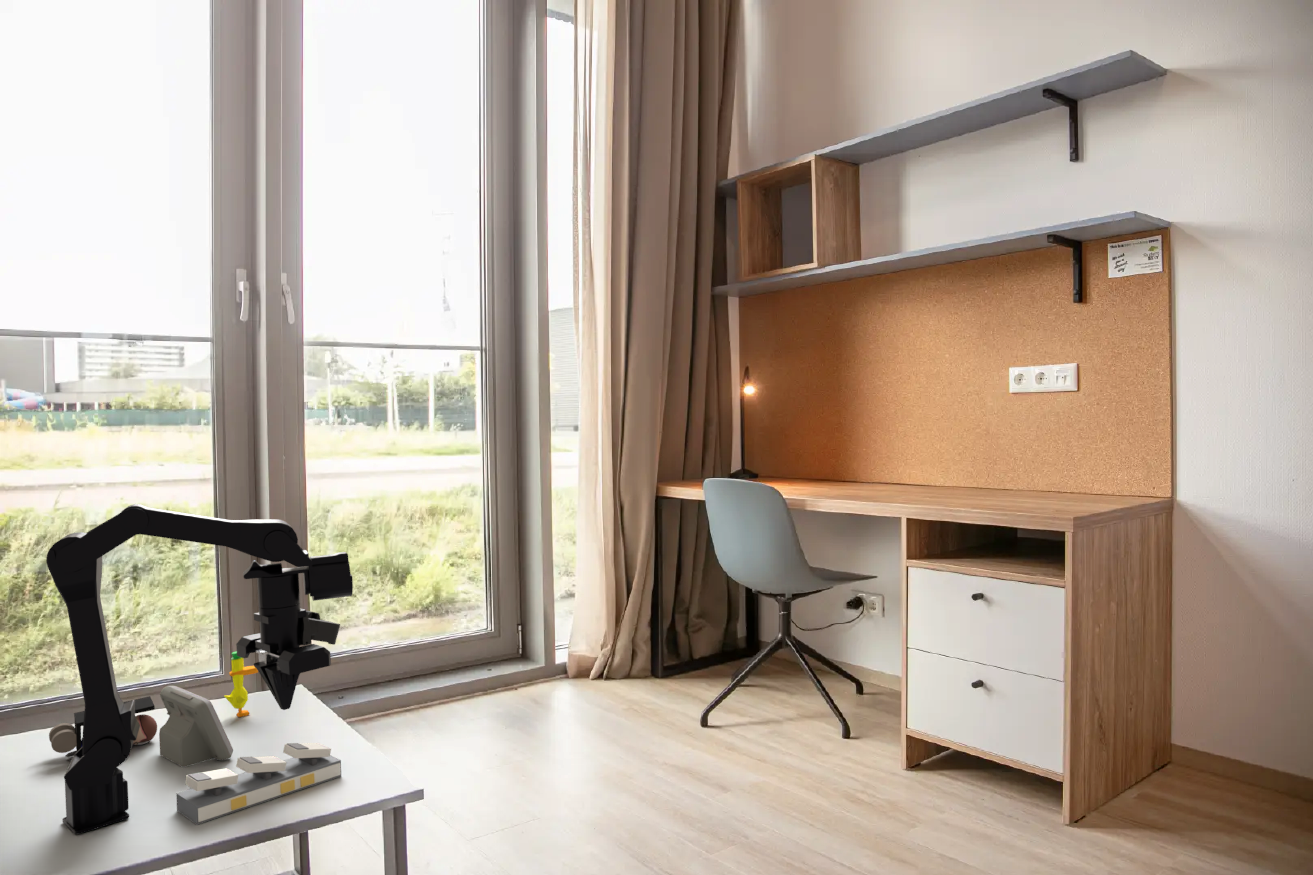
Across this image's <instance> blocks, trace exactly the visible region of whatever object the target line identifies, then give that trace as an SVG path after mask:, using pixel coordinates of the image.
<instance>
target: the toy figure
mask: <svg viewBox="0 0 1313 875" xmlns="http://www.w3.org/2000/svg"><path fill="white" fill-rule="evenodd" d="M231 656H232V657H231V658H230V660H231V671H229V672H228V674H229V676H230V677H232V682H233V689H232V691H231V692H230V694H229V695H223V697H224V698H225V699H226V700H227V701H228V703H229V704H230V705H231V706H232V707H233V708H234V709H235V710H238V712H237V713H236V716H237V718H241V717H246V716H250V712H249V710H247V709H243V708H244V707H245V705H246V704H247V702H248V700H249V697H248V696H249V693H248V692H249V691H248V690H247V689H246V688H245V686H244V679H245V678H244V677H245V676H249V675H253V674H258V673H259V672H258V670H257V668H256V667H254V665H247V666H245V662H244V659H245V658H242V657H239V656H237V650H236V651H233V652H231Z"/></svg>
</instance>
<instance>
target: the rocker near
mask: <svg viewBox="0 0 1313 875" xmlns="http://www.w3.org/2000/svg"><path fill="white" fill-rule="evenodd" d="M237 774H238V773H235V772H233V771H232V770H230V769H229V768H226V767H225V768H220V769H213V770H207V771H202V772H195V773H194V772H193V773H188V774H186V775H185V776H186V777H185V785H186V786H188V787H189V788H190V789H194V790H195V791H201V790H206V789H212V788H217V787H222V786H227V785H233V784H237V783H238V775H237Z"/></svg>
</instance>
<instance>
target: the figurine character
mask: <svg viewBox="0 0 1313 875" xmlns="http://www.w3.org/2000/svg"><path fill="white" fill-rule="evenodd" d="M132 700H133V699H131V700H127V701H123V702H124V704H125V703H127V702H130V701H132ZM134 700H135V717H136V720H137V721H138V723H139V724H140V728H139V731H138V735H137V738H136V740H135V741H133V745H135V746H142V745H146V744H147V743H149V742H150V741H152V740H153V739H154V737H155V736H156V734H157V731H158V724H157V721H156V720H155V718H154V717H152V716H151V715H149V714H139V713H144V712H148V711H152V710H155V708H156V707H155V704H154V702H153V699H152V698H151V696H150V695H149V696H145V697H141V698H135V699H134ZM84 712H85V710H82V711H78V712H74V713H73V715H74V725H73V724H71V723H68V722H61V723H57V725H54V726H53V727H52V728H51V729H50V731H49V732H48V739H49V742H50V744H51V746H50V747H51V748H52V750H53V751H54V752H56V753H60V754H64V753H66V755H65V757H69V758H68V759H67V760H66V762H71V760H72V758H73V756H74V755H75V754H76V753H77V751H78V750H79V749H80V748H81V747H82V742H83V736H82V727H83V723H84ZM137 714H138V715H137ZM74 749H76V750H74ZM73 750H74V751H73Z"/></svg>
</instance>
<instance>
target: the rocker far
mask: <svg viewBox="0 0 1313 875" xmlns="http://www.w3.org/2000/svg"><path fill="white" fill-rule="evenodd" d="M331 751H332V748H331V747H329V746H326V745H324V744H322V743H320V742H309V743H308V742H307V743H303V742H302V743H300V742H293V743H292V742H291V743H284V746H283V752H282V753H283V754H286V755H288V756H290V757H291V758H293V757H294V758H315V757H330V755H331Z"/></svg>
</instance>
